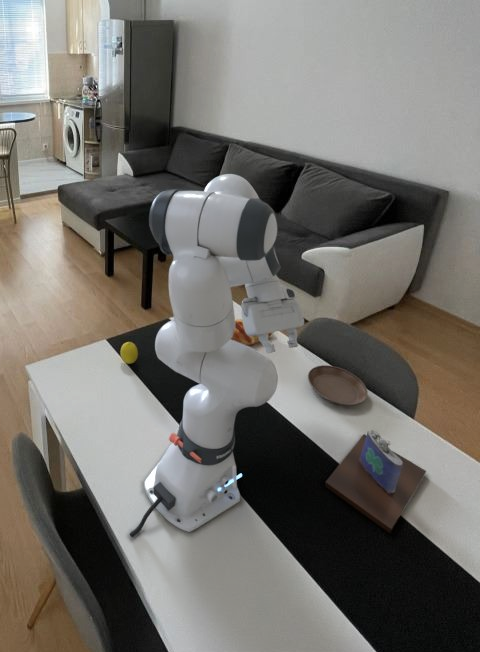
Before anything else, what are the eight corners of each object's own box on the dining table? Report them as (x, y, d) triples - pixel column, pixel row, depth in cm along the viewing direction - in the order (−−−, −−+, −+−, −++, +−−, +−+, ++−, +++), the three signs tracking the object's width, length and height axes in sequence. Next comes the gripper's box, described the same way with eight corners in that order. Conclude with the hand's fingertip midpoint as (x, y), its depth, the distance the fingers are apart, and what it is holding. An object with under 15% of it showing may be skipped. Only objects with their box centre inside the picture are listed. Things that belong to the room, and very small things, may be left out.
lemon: (118, 359, 140) (117, 339, 137) (133, 355, 141) (133, 335, 138) (124, 370, 135) (124, 350, 132) (140, 366, 136) (140, 346, 133)
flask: (397, 493, 93) (408, 458, 89) (384, 495, 93) (395, 460, 89) (366, 456, 102) (375, 422, 98) (355, 457, 102) (363, 424, 98)
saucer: (375, 413, 115) (377, 406, 114) (316, 408, 117) (317, 400, 116) (353, 374, 128) (354, 367, 127) (300, 370, 131) (301, 363, 130)
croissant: (268, 337, 151) (265, 314, 152) (284, 342, 141) (280, 318, 142) (210, 343, 149) (207, 320, 150) (222, 349, 139) (219, 324, 140)
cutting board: (390, 533, 87) (391, 529, 87) (324, 486, 97) (325, 481, 97) (424, 475, 98) (426, 470, 98) (362, 438, 108) (363, 433, 107)
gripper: (249, 296, 105) (267, 354, 100) (299, 290, 115) (317, 343, 111) (230, 301, 110) (246, 357, 105) (279, 295, 120) (295, 345, 116)
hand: (282, 349), depth 108 cm, fingers open, 8 cm apart
